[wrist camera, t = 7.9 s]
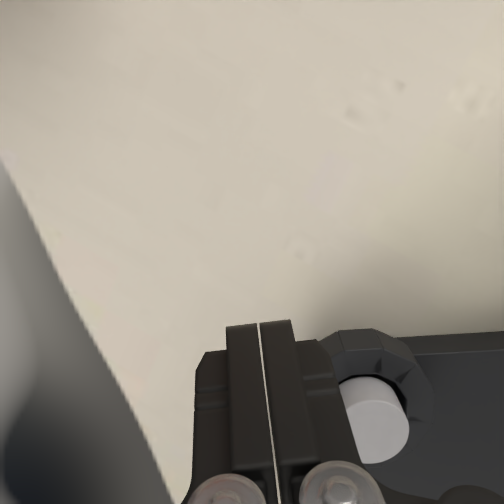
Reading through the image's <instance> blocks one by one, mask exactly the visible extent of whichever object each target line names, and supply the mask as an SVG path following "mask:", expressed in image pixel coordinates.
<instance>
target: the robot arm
mask: <svg viewBox="0 0 504 504" xmlns="http://www.w3.org/2000/svg"><path fill="white" fill-rule="evenodd" d="M259 324H260V334H261V343H262V352H263V361H264V370H265V379H266V388H267V396H268V404H269V412H270V419H271V427H272V435H273V443H274V451H275V459H276V467H277V475H278V483H279V491H280V499H281V504H504V498H503V497H502V496H500V495H498V494H497V493H495V492H493V491H491V490H489V489H486V488H483V487H480V486H474V485H460V486H455V487H453V488H450V489H449V490H447V491H446V492H444V493H443V494H442V495H441V496H440V498H439V499H438V500H434V499H429V498H424V497H419V496H414V495H409V494H405V493H401V492H397V491H395V490H393V489H390V488H388V487H386V486H385V485H383V484H381V483H380V482H379V481H377V480H376V479H375V478H374V477H373V476H372V475H371V474H370V473H369V472H368V471H367V469H366V468H365V466H364V465H363V463H362V461H361V459H360V456H359V453H358V450H357V446H356V443H355V439H354V436H353V433H352V429H351V426H350V422H349V419H348V415H347V412H346V408H345V405H344V402H343V398H342V395H341V393H340V388H339V384H338V381H337V378H336V375H335V371H334V367H333V364H332V360H331V357H330V354H329V353H328V352H327V351H326V350H325V349H324V348H323V347H322V345H321V344H320V343H319V342H318V341H317V340H316V339H314V340H306V341H297V342H295V338H294V333H293V329H292V324H291V320H290V319H289V320H280V321H272V322H263V323H259ZM226 348H227V350H220V351H211V352H205V354H204V356H203V358H202V359H201V361H200V363H199V365H198V367H197V369H196V374H195V403H194V408H195V411H194V431H193V460H192V479H191V484H190V487H189V490H188V492H187V495H186V496H185V498H184V500H183V501H182V503H181V504H278V497H277V488H276V479H275V470H274V461H273V453H272V445H271V437H270V429H269V420H268V412H267V404H266V396H265V388H264V379H263V371H262V363H261V355H260V347H259V338H258V330H257V323H254V324H245V325H237V326H228V327H226Z"/></svg>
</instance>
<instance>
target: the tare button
mask: <svg viewBox="0 0 504 504" xmlns="http://www.w3.org/2000/svg"><path fill="white" fill-rule="evenodd" d="M339 388H340V393H341V395H342V398H343V402H344V405H345V408H346V412H347V415H348V419H349V422H350V426H351V429H352V433H353V436H354V439H355V443H356V446H357V450H358V453H359V456H360V459H361V461H362V463H365V464H373V463H379V462H383V461H386V460H388V459H390V458H392V457H393V456H395V455H396V454H398V453H399V452H400V451H401V449H402V448H403V447H404V445H405V444H406V442H407V439H408V436H409V423H408V420H407V418H406V415H405V413H404V411H403V409H402V407H401V404H400V402H399V400H398V398H397V396H396V394H395V392H394V390H393V389H392V388H391V387H390V386H389V385H388V384H387V383H385V382H384V381H382V380H380V379H377V378H374V377H368V376H361V377H355V378H351V379H349V380H347V381H345V382H343V383H341V384H340V385H339Z"/></svg>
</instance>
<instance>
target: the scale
mask: <svg viewBox="0 0 504 504" xmlns="http://www.w3.org/2000/svg"><path fill="white" fill-rule="evenodd" d="M319 343H320V344H321V345H322V347H323V348H324V349H325V350H326V351H327V352H328V353H329V354H330V357H331V360H332V364H333V367H334V371H335V375H336V378H337V381H338V384H339V385H340V384H341V383H343V382H345V381H347V380H349V379H351V378H355V377H361V376H368V377H374V378H377V379H380V380H382V381H384V382H385V383H387V384H388V385H389V386H390V387H391V388H392V389H393V390H394V392H395V394H396V396H397V398H398V400H399V402H400V404H401V407H402V409H403V411H404V413H405V415H406V418H407V420H408V423H409V436H408V439H407V442H406V444H405V445H404V447H403V448H402V449H401V451H400V452H399V453H398V454H396V455H395V456H393V457H392V458H390V459H388V460H386V461H383V462H379V463H373V464H365V463H363V465H364V466H365V468H366V469H367V471H368V472H369V473H370V474H371V475H372V476H373V477H374V478H375V479H376V480H377V481H379V482H380V483H381V484H383V485H385V486H386V487H388V488H390V489H393V490H395V491H397V492H401V493H405V494H409V495H414V496H419V497H424V498H429V499H434V500H438V499H439V498H440V496H441V495H442V494H443V493H444V492H446V491H447V490H449V489H450V488H453V487H455V486H460V485H474V486H480V487H483V488H486V489H489V490H491V491H493V492H495V493H497V494H498V495H500V496H502V497H503V498H504V331H501V332H484V333H467V334H450V335H434V336H417V337H400V338H393V337H391V336H389V335H387V334H384V333H382V332H380V331H378V330H376V329H372V328H371V329H354V330H339V331H338V332H334V333H333V334H331V335H329V336H328V337H326V338H324V339H322V340H321V341H319Z"/></svg>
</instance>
